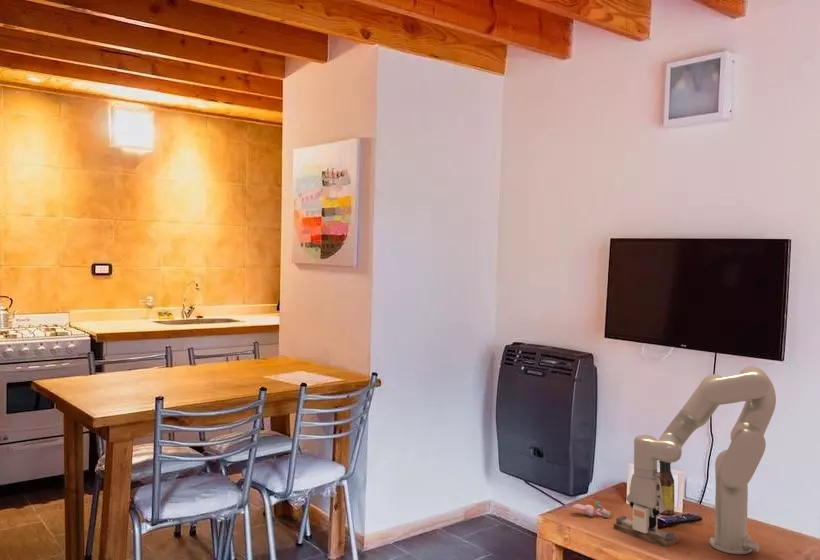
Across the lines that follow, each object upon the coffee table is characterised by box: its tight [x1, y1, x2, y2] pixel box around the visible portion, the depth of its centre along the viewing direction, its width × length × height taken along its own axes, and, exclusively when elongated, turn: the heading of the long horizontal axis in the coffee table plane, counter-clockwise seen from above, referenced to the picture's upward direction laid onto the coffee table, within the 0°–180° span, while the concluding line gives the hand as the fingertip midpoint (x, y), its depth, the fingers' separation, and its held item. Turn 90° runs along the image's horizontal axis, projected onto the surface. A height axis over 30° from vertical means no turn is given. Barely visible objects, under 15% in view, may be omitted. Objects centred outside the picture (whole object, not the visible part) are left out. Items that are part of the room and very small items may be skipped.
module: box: [632, 505, 658, 534], centre depth 232 cm, size 5×7×8 cm
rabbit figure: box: [571, 501, 615, 519], centre depth 249 cm, size 6×6×15 cm
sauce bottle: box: [657, 460, 675, 515], centre depth 252 cm, size 6×6×20 cm
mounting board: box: [613, 522, 678, 548], centre depth 232 cm, size 20×7×2 cm, turn 38°
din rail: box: [615, 515, 676, 541], centre depth 232 cm, size 20×4×2 cm, turn 38°
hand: (645, 524), depth 232 cm, fingers closed on module, 4 cm apart
